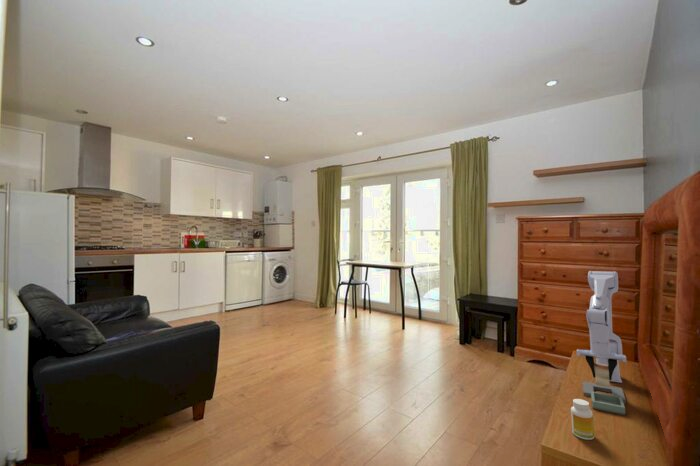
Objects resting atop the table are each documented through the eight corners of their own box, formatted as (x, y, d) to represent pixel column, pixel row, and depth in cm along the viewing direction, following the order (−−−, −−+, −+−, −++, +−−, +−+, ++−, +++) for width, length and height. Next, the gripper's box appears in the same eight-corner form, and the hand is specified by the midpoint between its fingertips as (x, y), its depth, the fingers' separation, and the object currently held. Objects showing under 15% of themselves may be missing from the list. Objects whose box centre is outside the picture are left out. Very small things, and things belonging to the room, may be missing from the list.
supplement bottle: (598, 441, 92) (596, 406, 92) (577, 439, 93) (575, 405, 93) (588, 430, 97) (586, 397, 97) (568, 429, 98) (566, 397, 98)
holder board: (582, 384, 127) (582, 381, 127) (621, 391, 120) (621, 387, 121) (583, 395, 118) (583, 392, 118) (626, 403, 112) (625, 400, 112)
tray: (591, 398, 116) (590, 391, 116) (622, 404, 111) (621, 396, 111) (592, 408, 109) (592, 401, 109) (625, 415, 104) (625, 407, 104)
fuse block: (595, 381, 122) (594, 362, 122) (608, 383, 120) (607, 364, 120) (596, 385, 119) (594, 366, 119) (609, 387, 116) (608, 368, 117)
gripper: (576, 341, 120) (578, 377, 120) (626, 347, 112) (629, 386, 112) (575, 336, 126) (578, 371, 126) (623, 341, 118) (626, 378, 118)
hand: (602, 377), depth 119 cm, fingers closed on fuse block, 4 cm apart
